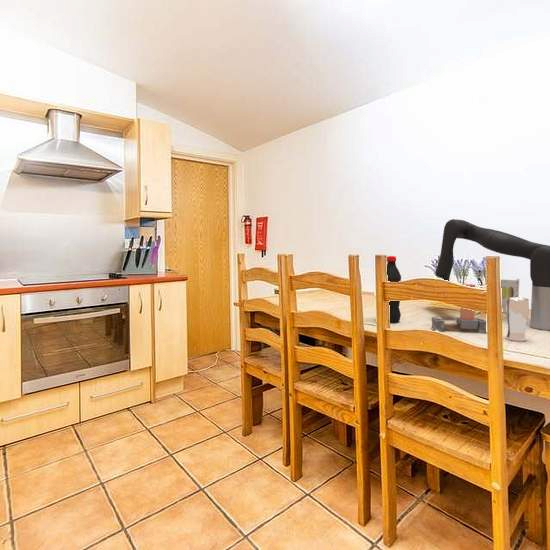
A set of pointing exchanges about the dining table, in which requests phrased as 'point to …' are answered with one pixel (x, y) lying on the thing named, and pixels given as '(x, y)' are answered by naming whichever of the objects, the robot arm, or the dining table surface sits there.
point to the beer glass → (517, 318)
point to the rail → (456, 325)
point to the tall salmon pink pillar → (467, 317)
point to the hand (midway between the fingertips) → (458, 298)
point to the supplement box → (509, 290)
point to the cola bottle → (393, 277)
